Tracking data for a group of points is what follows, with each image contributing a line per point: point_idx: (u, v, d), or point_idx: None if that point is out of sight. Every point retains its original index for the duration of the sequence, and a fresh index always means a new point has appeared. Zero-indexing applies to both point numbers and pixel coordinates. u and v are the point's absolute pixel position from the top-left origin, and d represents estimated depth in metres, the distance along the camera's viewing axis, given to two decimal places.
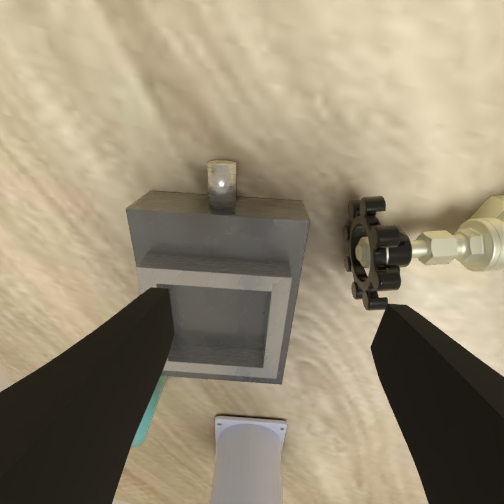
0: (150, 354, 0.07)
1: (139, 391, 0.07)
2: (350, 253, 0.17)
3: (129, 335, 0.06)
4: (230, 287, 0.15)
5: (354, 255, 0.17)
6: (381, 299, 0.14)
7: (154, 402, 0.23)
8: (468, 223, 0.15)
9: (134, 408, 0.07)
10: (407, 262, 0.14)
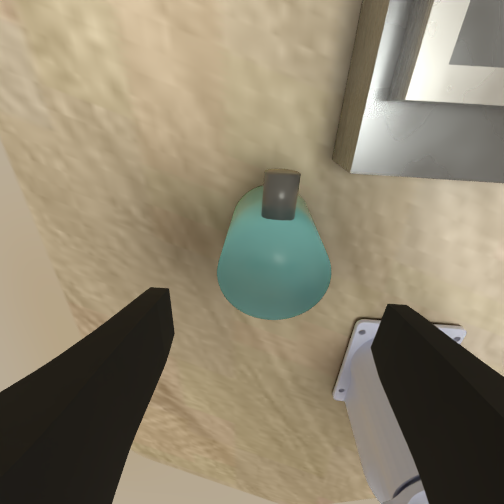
0: (150, 354, 0.07)
1: (139, 391, 0.07)
2: None
3: (129, 335, 0.06)
4: None
5: None
6: None
7: None
8: None
9: (134, 408, 0.07)
10: None
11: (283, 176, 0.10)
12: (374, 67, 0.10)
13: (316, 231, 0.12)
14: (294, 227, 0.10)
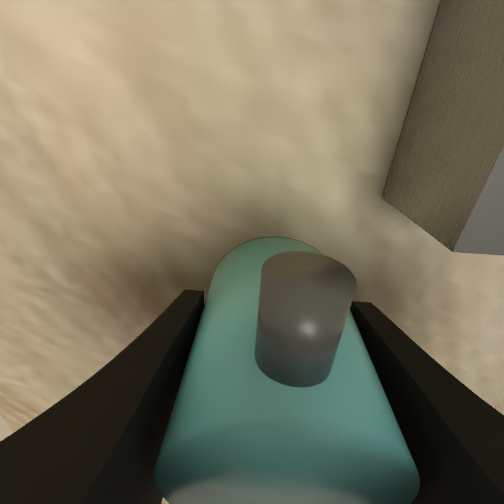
0: None
1: None
2: None
3: (176, 338, 0.06)
4: None
5: None
6: None
7: None
8: None
9: None
10: None
11: (315, 301, 0.03)
12: None
13: (373, 372, 0.05)
14: (342, 424, 0.04)
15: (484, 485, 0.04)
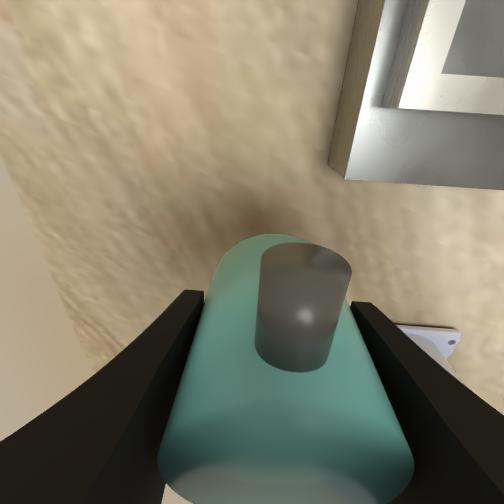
0: None
1: None
2: None
3: (176, 338, 0.06)
4: None
5: None
6: None
7: None
8: None
9: None
10: None
11: (311, 286, 0.04)
12: (368, 74, 0.10)
13: (370, 361, 0.06)
14: (338, 405, 0.04)
15: (485, 487, 0.04)
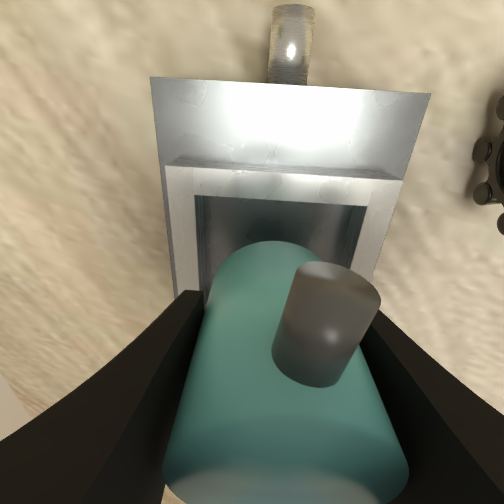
0: (189, 357, 0.07)
1: (180, 394, 0.07)
2: (493, 175, 0.12)
3: (176, 339, 0.06)
4: (305, 199, 0.10)
5: (501, 177, 0.12)
6: None
7: None
8: None
9: None
10: None
11: (348, 311, 0.04)
12: None
13: (372, 378, 0.06)
14: (353, 423, 0.04)
15: (485, 487, 0.04)
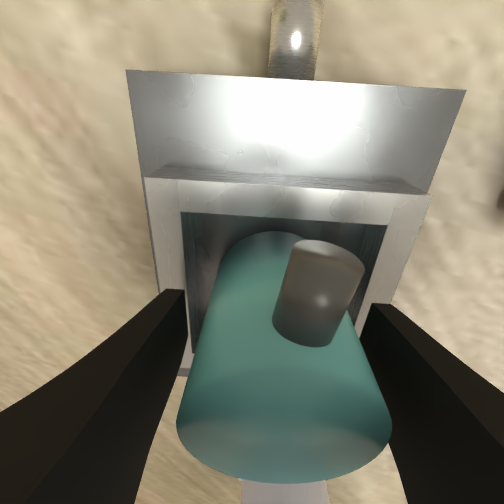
0: (168, 355, 0.07)
1: (158, 393, 0.07)
2: None
3: (150, 337, 0.06)
4: (314, 217, 0.08)
5: None
6: None
7: None
8: None
9: (153, 410, 0.07)
10: None
11: (335, 275, 0.04)
12: None
13: (362, 347, 0.07)
14: (342, 374, 0.05)
15: None
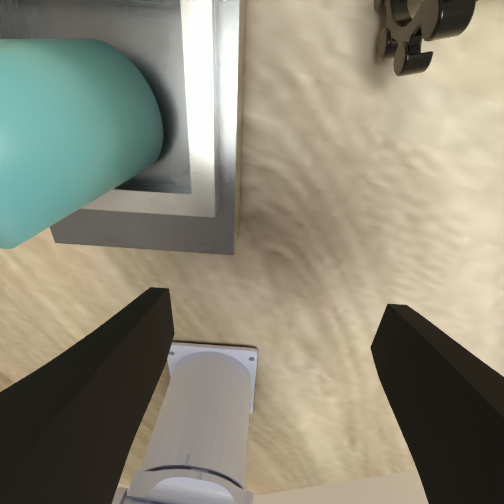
0: (150, 354, 0.07)
1: (139, 391, 0.07)
2: (389, 13, 0.11)
3: (129, 335, 0.06)
4: None
5: (396, 11, 0.11)
6: None
7: (88, 152, 0.07)
8: None
9: (134, 408, 0.07)
10: None
11: None
12: None
13: (29, 107, 0.06)
14: None
15: None
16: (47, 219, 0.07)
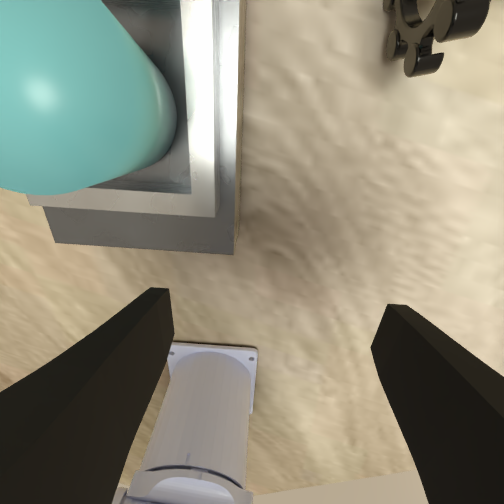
0: (150, 354, 0.07)
1: (139, 391, 0.07)
2: (399, 14, 0.11)
3: (129, 335, 0.06)
4: None
5: (406, 12, 0.11)
6: None
7: (158, 116, 0.08)
8: None
9: (134, 408, 0.07)
10: None
11: None
12: None
13: (140, 56, 0.07)
14: None
15: None
16: (122, 165, 0.07)
